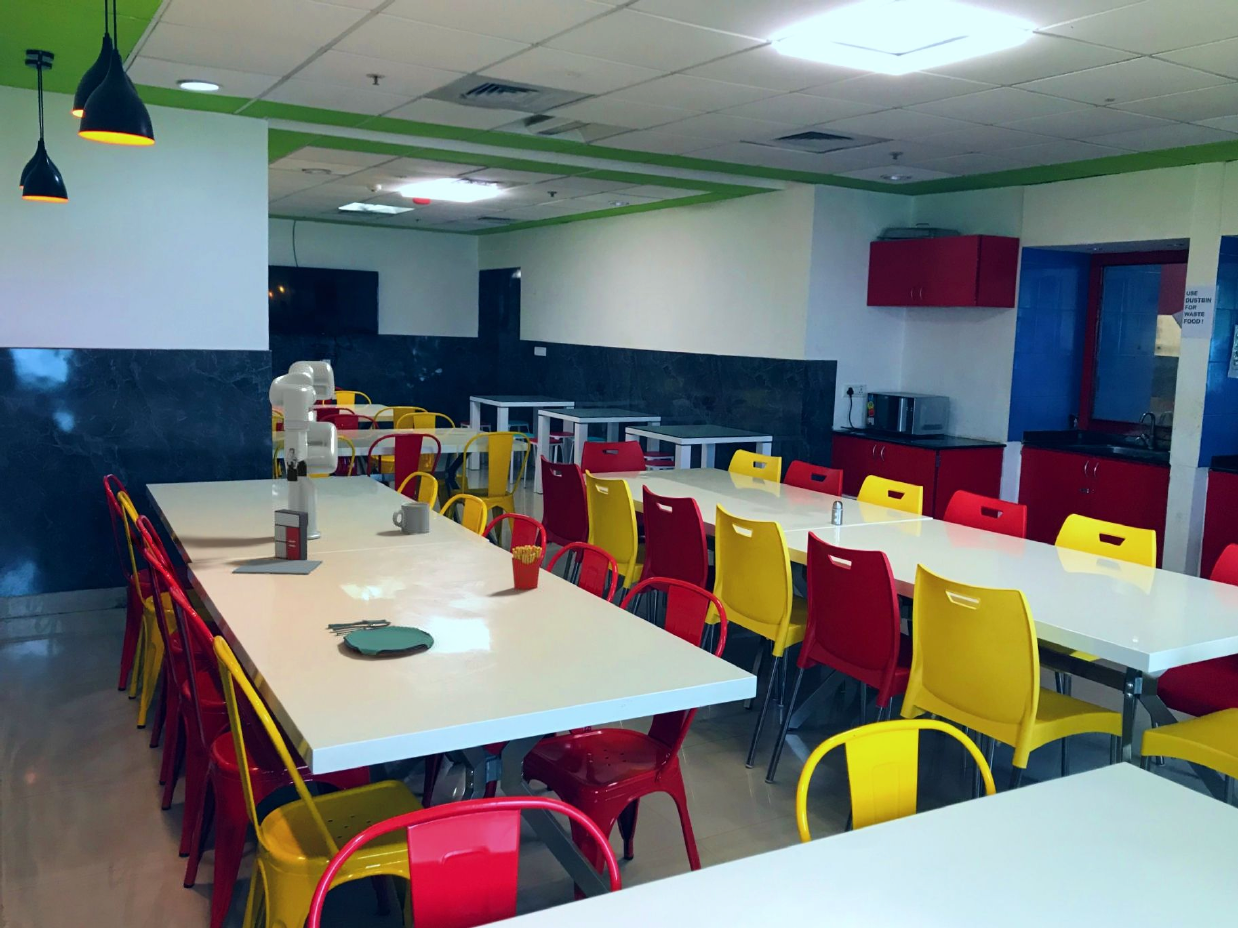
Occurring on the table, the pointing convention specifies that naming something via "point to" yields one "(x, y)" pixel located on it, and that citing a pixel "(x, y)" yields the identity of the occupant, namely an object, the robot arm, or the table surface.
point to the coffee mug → (413, 517)
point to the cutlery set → (383, 637)
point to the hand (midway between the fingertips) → (297, 478)
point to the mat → (278, 566)
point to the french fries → (526, 566)
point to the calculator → (291, 534)
